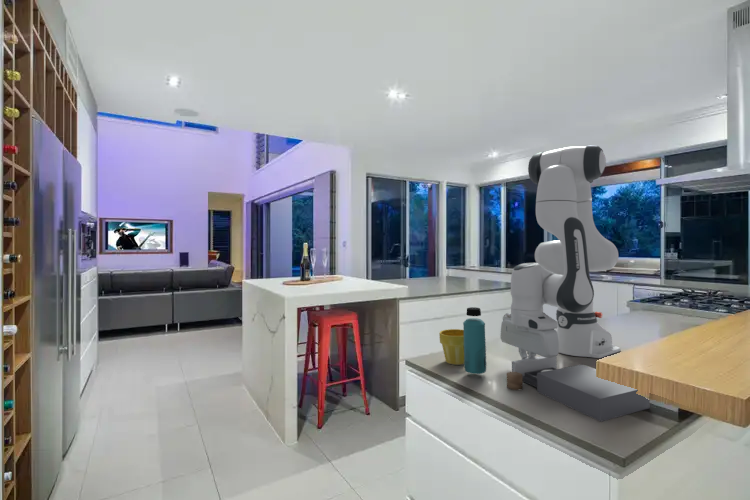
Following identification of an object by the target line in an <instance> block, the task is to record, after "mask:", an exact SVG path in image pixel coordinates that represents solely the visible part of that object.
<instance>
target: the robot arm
mask: <svg viewBox="0 0 750 500" xmlns="http://www.w3.org/2000/svg"><path fill="white" fill-rule="evenodd" d="M606 162H607V159H606V156H605V153H604V150H603V149H602V148H601V147H600V146H598V145H590V144H589V145H588V144H587V145H586V146H567V147H563V148H557V149H552V150H547V151H541V152H538V153H535V154H533V155H532V156H531V158H529V162H528V167H527V172H528V176H529V180H530V181H532V183H533V184H534V185H537V188H536V189H537V190H536V198H535V217H536V221H537V224H538V225H539V226H540V228H542V229H543V230H544V231H546V232H547V233H549V234H551V235H553V236H554V237H556V238H557V240H556V239H555V240H549V241H548V240H547V241H544V242H540V243H539V244H538V246H536V248H535V251H534V260H535V262H526V263H525V262H524V263H520V264H518V265H515V266H514V267H513V269H512V271H511V276H510V295H511V304H510V313H508V312H507V313H505V314H504V315H503V316H502V321H501V326H500V334H499V335H500V337H499V338H500V340H501V342H502V343H504V344H506V345H509V346H513V347H515V348H518V353H519V355H520V358H521V360H523V359H529V358H535V357H537V355H538V356H539V357H541V356H543V357H546V358H552V357H556V358H557V357H558V355H559V353H560V354H563V355H567V356H572V357H573V356H574V357H584V358H587V357H588V358H593V359H601V358H604V357H607V356H610V355H613V354H616V353H619V352H621V347H619V346H617V345H615V344H613V337H612V333H611V332H610V331H609V330H607V329H606V328H605V327H603V326H602V325H601V324H600V323H599V322H598V319H597V318H599V319H602V318H603V312H601V311H594V296H595V291H594V286H593V282H592V279H591V275H590V272H591V273H592V272H596V273H597V272H604V271H608V270H609V271H610V270H612V269H613V268H614V267H615V266H616V265H617V263H618V261H619V250H618V248H617V247H616V245H615V244H614V243H613V242H612V241H610V240H609V239H607V238H605V237H604V236H603V235H602V234H601V233H600V231H599V230H598V229H597V227H596V224H595V221H594V216H593V205H592V204H593V202H592V201H593V200H592V199H593V197H592V188H591V187H592V186H591V184H592V183H593V182H594V181H595V180H597V179H599V178H600V177H601V176H602V175H603V173H604V171H605V167H606ZM544 305H548V306H552V307H555V308H557V309H556V313H555V316H556V317H555V318H556V319H554V318H552V317H551V316H549V315H548V313H545V312H544Z"/></svg>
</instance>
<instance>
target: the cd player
mask: <svg viewBox="0 0 750 500" xmlns="http://www.w3.org/2000/svg"><path fill="white" fill-rule="evenodd" d="M596 369H597V368H594V367H591V366H588V365H585V364H583V363H582V364H577V365H572V366H567V367H561V368H557V369H555V370H550V371H545V372H539V373H537V387H536V388H537V390H536V391H537V393H539V394H541V395H543V396H545V397H547V398H549V399H551V400H554V401H556V402H558V403H560V404H562V405H564V406H565V407H568V408H571V409H573V410H574V411H577V412H579V413H581V414H584V415H585V416H588V417H590V418H592V419H594V420H596V421H599V422H605V421H608V420H612V419H615V418H618V417H623V416H626V415H629V414H634V413H638V412H641V411H645V410H648V409H650V400H651V399H650V400H648V399H646V398H645V397H643V396H641V395H638V394H636V392H637V391H638V390H637V389H634V388H631V387H627V386H624V385H620V384H617V383H615V382H611V381H608V380H604V379H601V378H598V377H596Z"/></svg>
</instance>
